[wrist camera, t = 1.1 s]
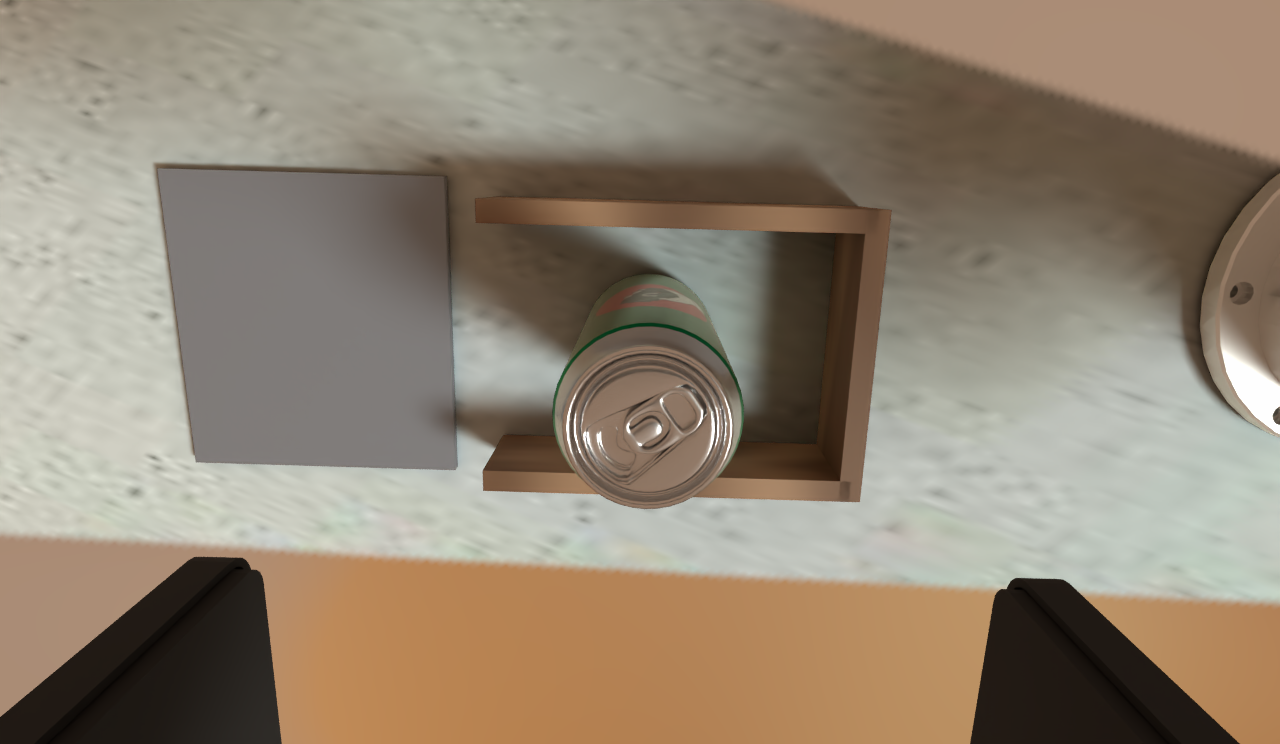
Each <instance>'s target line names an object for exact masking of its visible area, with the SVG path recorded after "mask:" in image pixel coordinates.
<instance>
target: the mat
mask: <svg viewBox="0 0 1280 744" xmlns="http://www.w3.org/2000/svg"><path fill="white" fill-rule="evenodd" d="M157 171H158V179H159V186H160V194H161V201H162V209H163V217H164V224H165V232H166V239H167V247H168V254H169V262H170V270H171V277H172V285H173V292H174V300H175V307H176V315H177V323H178V330H179V338H180V345H181V353H182V360H183V368H184V376H185V383H186V391H187V398H188V406H189V414H190V421H191V429H192V436H193V444H194V451H195V459H196V462H204V463H237V464H270V465H304V466H337V467H370V468H403V469H436V470H456V468H457V467H458V463H457V436H456V410H455V383H454V356H453V330H452V303H451V276H450V249H449V223H448V196H447V176H416V175H380V174H344V173H308V172H272V171H236V170H199V169H163V168H157Z"/></svg>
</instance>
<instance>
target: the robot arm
mask: <svg viewBox="0 0 1280 744" xmlns="http://www.w3.org/2000/svg"><path fill="white" fill-rule="evenodd" d="M1200 331H1201V339H1202V347H1203V354H1204V357H1205V360H1206V363H1207V365H1208V368H1209V371H1210V374H1211V376H1212V379H1213V381H1214V383H1215V384H1216V386H1217V387H1218V389H1219V390H1220V392H1221V393H1222V395H1223V396H1224V398H1225V399H1226V401H1227V402H1228V403H1229V404H1230V405H1231V406H1232V407H1233V408H1234V409H1235V410H1236V411H1237V412H1238V413H1239V414H1240V415H1241V416H1242V417H1243V418H1245V419H1246V420H1247V421H1249V422H1250V423H1252V424H1254V425H1255V426H1257V427H1259V428H1261V429H1262V430H1264V431H1266V432H1267V433H1269V434H1272V435H1274V436H1277V437H1279V438H1280V173H1279V174H1278V175H1276V176H1275V177H1274V178H1273V179H1271V180H1270V181H1269V182H1268V183H1267V184H1266V185H1265V186H1264V187H1263V188H1262V189H1261V190H1260V191H1259V192H1258V193H1257V194H1256V195H1255V196H1254V197H1253V199H1252V200H1251V201H1250V202H1249V203H1248V204H1247V205H1246V206H1245V207H1244V208H1243V210H1242V211H1241V213H1240V214H1239V215H1238V217H1237V218H1236V220H1235V221H1234V223H1233V224H1232V226H1231V227H1230V229H1229V230H1228V232H1227V233H1226V235H1225V236H1224V238H1223V240H1222V242H1221V244H1220V247H1219V249H1218V251H1217V253H1216V255H1215V257H1214V259H1213V262H1212V264H1211V266H1210V269H1209V273H1208V277H1207V280H1206V284H1205V288H1204V292H1203V295H1202V305H1201V318H1200ZM0 744H282V743H281V734H280V725H279V717H278V707H277V698H276V689H275V681H274V672H273V663H272V654H271V645H270V636H269V627H268V618H267V609H266V600H265V592H264V583H263V578H262V575H261V573H260V572H259V571H257V570H251V568H250V565H249V564H248V562H247V561H246V560H245V559H243V558H226V557H194V558H192V559H190V560H189V561H187V562H186V563H185V564H184V565H182V566H181V567H180V568H179V569H178V570H176V571H175V572H174V573H173V574H172V575H170V576H169V577H168V578H167V579H166V580H165V581H163V582H162V583H161V584H160V585H158V586H157V587H156V588H155V589H154V590H152V591H151V592H150V593H149V594H148V595H146V596H145V597H144V598H143V599H142V600H140V601H139V602H138V603H137V604H136V605H134V606H133V607H132V608H131V609H130V610H128V611H127V612H126V613H125V614H124V615H122V616H121V617H120V618H119V619H118V620H116V621H115V622H114V623H113V624H112V625H110V626H109V627H108V628H107V629H105V630H104V631H103V632H102V633H101V634H99V635H98V636H97V637H96V638H95V639H93V640H92V641H91V642H90V643H89V644H88V645H86V646H85V647H84V648H83V649H82V650H80V651H79V652H78V653H77V654H75V655H74V656H73V657H72V658H71V659H69V660H68V661H67V662H66V663H65V664H63V665H62V666H61V667H60V668H59V669H57V670H56V671H55V672H54V673H53V674H51V675H50V676H49V677H48V678H47V679H45V680H44V681H43V682H42V683H41V684H40V685H38V686H37V687H36V688H35V689H33V691H31V692H30V693H29V694H27V695H26V696H25V697H24V698H23V699H21V700H20V701H19V702H18V703H17V704H16V705H14V706H13V707H12V708H11V709H10V710H8V711H7V712H6V713H5V714H3V715H2V716H1V717H0ZM970 744H1239V743H1238V742H1237V741H1236V740H1235V739H1234V738H1233V737H1232V736H1231V735H1230V734H1229V733H1228V732H1226V730H1224V729H1223V728H1222V727H1221V726H1220V725H1219V724H1218V723H1217V722H1216V721H1215V720H1214V719H1212V717H1211V716H1210V715H1208V714H1207V713H1206V712H1205V711H1204V710H1203V709H1202V708H1201V707H1200V706H1199V705H1198V704H1197V703H1196V702H1195V701H1194V700H1193V699H1191V698H1190V697H1189V696H1188V695H1187V694H1186V693H1185V692H1184V691H1183V690H1182V689H1181V688H1180V687H1179V686H1178V685H1177V684H1175V683H1174V682H1173V681H1172V680H1171V679H1170V678H1169V677H1168V676H1167V675H1166V674H1165V673H1164V672H1163V671H1162V670H1161V669H1160V668H1158V667H1157V666H1156V665H1155V664H1154V663H1153V662H1152V661H1151V660H1150V659H1149V658H1148V657H1147V656H1146V655H1145V654H1144V653H1142V652H1141V651H1140V650H1139V649H1138V648H1137V647H1136V646H1135V645H1134V644H1133V643H1132V642H1131V641H1130V640H1129V639H1128V638H1127V637H1126V636H1124V635H1123V634H1122V633H1121V632H1120V631H1119V630H1118V629H1117V628H1116V627H1115V626H1114V625H1113V624H1112V623H1111V622H1110V621H1109V620H1107V619H1106V618H1105V617H1104V616H1103V615H1102V614H1101V613H1100V612H1099V611H1098V610H1097V609H1096V608H1095V607H1094V606H1093V605H1092V604H1090V603H1089V602H1088V601H1087V600H1086V599H1085V598H1084V597H1083V596H1082V595H1081V594H1080V593H1079V592H1078V591H1077V590H1076V589H1074V588H1073V587H1072V586H1071V585H1070V584H1069V583H1068V582H1066V581H1064V580H1061V579H1033V578H1015V579H1013V580H1012V581H1011V582H1010V584H1009V585H1008V587H1007V589H1001V590H999V591H998V592H997V593H996V595H995V598H994V602H993V608H992V614H991V621H990V627H989V633H988V639H987V645H986V651H985V657H984V663H983V669H982V675H981V681H980V688H979V693H978V699H977V706H976V712H975V718H974V725H973V730H972V736H971V743H970Z"/></svg>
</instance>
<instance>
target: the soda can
mask: <svg viewBox="0 0 1280 744" xmlns="http://www.w3.org/2000/svg"><path fill="white" fill-rule="evenodd" d="M552 415H553V428H554V432H555V436H556V440H557V443H558V445H559V448H560V450H561V452H562V455H563V456H564V458H565V459H566V461H567V463H568V464H569V466H570V467H571V468H572V469H573V471H574V472H575V473H576V474H577V475H578V476H579V477H580V478H581V479H582V480H583V481H584V482H585V483H586V484H587V485H588V486H589V487H591V488H592V489H593V490H594V491H595V492H597V493H598V494H600V495H601V496H603V497H605V498H606V499H608V500H611V501H613V502H615V503H618V504H621V505H624V506H628V507H632V508H641V509H657V508H663V507H669V506H672V505H675V504H678V503H681V502H684V501H686V500H688V499H690V498H692V497H694V496H695V495H697V494H698V493H699V492H701V491H702V490H704V489H705V488H706V487H707V486H708V485H709V484H710V483H712V482H713V481H714V480H715V479H716V478H717V477H718V476H719V475H720V474H721V473H722V471H723V470H724V469H725V467H726V466H727V465H728V463H729V462H730V461H731V459H732V457H733V455H734V453H735V451H736V449H737V447H738V444H739V441H740V438H741V435H742V428H743V422H744V405H743V400H742V394H741V390H740V387H739V384H738V381H737V378H736V376H735V374H734V372H733V369H732V367H731V365H730V362H729V360H728V358H727V356H726V353H725V351H724V349H723V347H722V344H721V342H720V340H719V337H718V335H717V333H716V331H715V328H714V326H713V324H712V321H711V319H710V317H709V315H708V312H707V310H706V308H705V307H704V305H703V303H702V302H701V300H700V299H699V298H698V296H697V295H696V294H695V293H694V292H693V291H692V290H691V289H690V288H688V287H687V286H685V285H684V284H683V283H681V282H679V281H677V280H675V279H673V278H670V277H666V276H663V275H656V274H640V275H635V276H631V277H628V278H625V279H623V280H621V281H619V282H617V283H615V284H613V285H612V286H611V287H610V288H608V289H607V290H606V291H605V292H604V293H603V294H602V295H601V296H600V297H599V298H598V300H597V301H596V303H595V304H594V306H593V308H592V310H591V312H590V314H589V316H588V319H587V321H586V323H585V325H584V327H583V329H582V332H581V334H580V336H579V338H578V340H577V342H576V345H575V347H574V349H573V351H572V353H571V356H570V358H569V360H568V362H567V364H566V366H565V369H564V371H563V373H562V375H561V377H560V380H559V382H558V384H557V388H556V391H555V395H554V401H553V411H552Z"/></svg>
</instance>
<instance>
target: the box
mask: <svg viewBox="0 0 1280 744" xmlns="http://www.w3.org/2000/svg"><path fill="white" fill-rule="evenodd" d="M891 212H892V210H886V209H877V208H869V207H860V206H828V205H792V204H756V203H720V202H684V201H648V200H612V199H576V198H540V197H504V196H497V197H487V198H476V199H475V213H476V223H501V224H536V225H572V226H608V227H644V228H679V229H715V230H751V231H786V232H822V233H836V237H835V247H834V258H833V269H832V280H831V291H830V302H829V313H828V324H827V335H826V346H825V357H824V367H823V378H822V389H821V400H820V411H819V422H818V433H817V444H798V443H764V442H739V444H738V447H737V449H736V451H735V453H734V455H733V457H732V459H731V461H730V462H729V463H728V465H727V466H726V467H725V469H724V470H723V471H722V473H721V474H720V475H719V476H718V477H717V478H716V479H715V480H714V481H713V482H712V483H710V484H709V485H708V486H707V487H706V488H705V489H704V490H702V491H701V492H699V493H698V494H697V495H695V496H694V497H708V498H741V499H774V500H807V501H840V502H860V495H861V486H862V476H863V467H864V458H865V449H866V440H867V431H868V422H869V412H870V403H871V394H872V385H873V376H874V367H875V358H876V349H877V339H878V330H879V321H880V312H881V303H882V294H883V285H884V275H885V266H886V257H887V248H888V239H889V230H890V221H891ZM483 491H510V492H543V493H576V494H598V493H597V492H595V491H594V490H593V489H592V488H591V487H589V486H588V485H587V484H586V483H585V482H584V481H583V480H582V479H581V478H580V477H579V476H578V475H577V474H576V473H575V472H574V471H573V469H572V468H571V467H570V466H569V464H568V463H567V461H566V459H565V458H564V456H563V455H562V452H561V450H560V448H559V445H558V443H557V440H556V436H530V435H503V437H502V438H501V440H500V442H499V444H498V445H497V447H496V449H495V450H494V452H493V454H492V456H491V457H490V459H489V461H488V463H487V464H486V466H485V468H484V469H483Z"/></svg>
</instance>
